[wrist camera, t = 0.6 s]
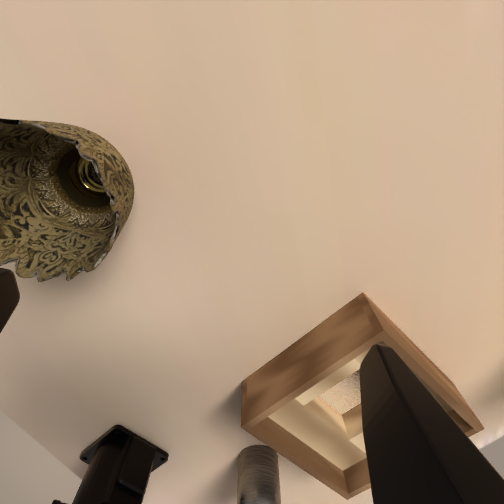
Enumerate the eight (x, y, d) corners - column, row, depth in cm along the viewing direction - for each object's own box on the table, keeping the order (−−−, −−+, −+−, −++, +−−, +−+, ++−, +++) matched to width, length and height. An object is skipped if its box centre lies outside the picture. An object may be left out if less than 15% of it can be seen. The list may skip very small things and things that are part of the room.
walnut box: (335, 450, 34) (347, 499, 30) (242, 381, 30) (240, 427, 26) (452, 382, 30) (484, 428, 26) (363, 292, 26) (383, 329, 22)
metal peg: (257, 475, 35) (259, 572, 28) (230, 457, 34) (224, 555, 27) (285, 458, 34) (294, 555, 27) (258, 439, 33) (260, 536, 26)
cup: (147, 238, 24) (101, 301, 17) (40, 207, 23) (-59, 259, 16) (169, 134, 21) (125, 155, 14) (47, 92, 20) (-70, 91, 13)
